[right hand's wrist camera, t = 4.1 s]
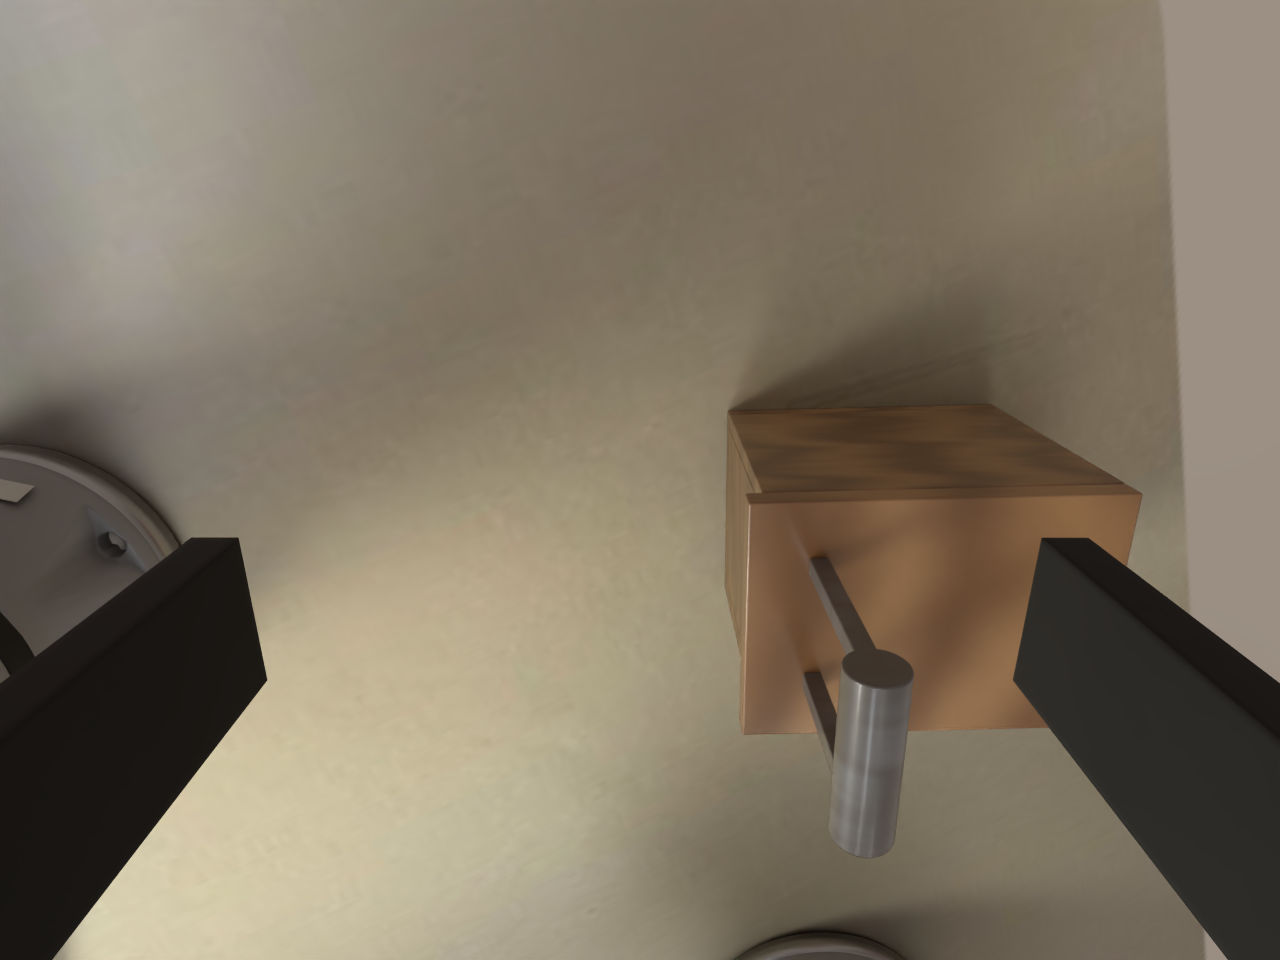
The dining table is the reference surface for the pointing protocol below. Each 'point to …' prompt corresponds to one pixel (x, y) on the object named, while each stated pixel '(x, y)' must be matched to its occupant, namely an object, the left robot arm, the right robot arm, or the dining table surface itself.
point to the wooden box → (882, 459)
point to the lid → (898, 621)
